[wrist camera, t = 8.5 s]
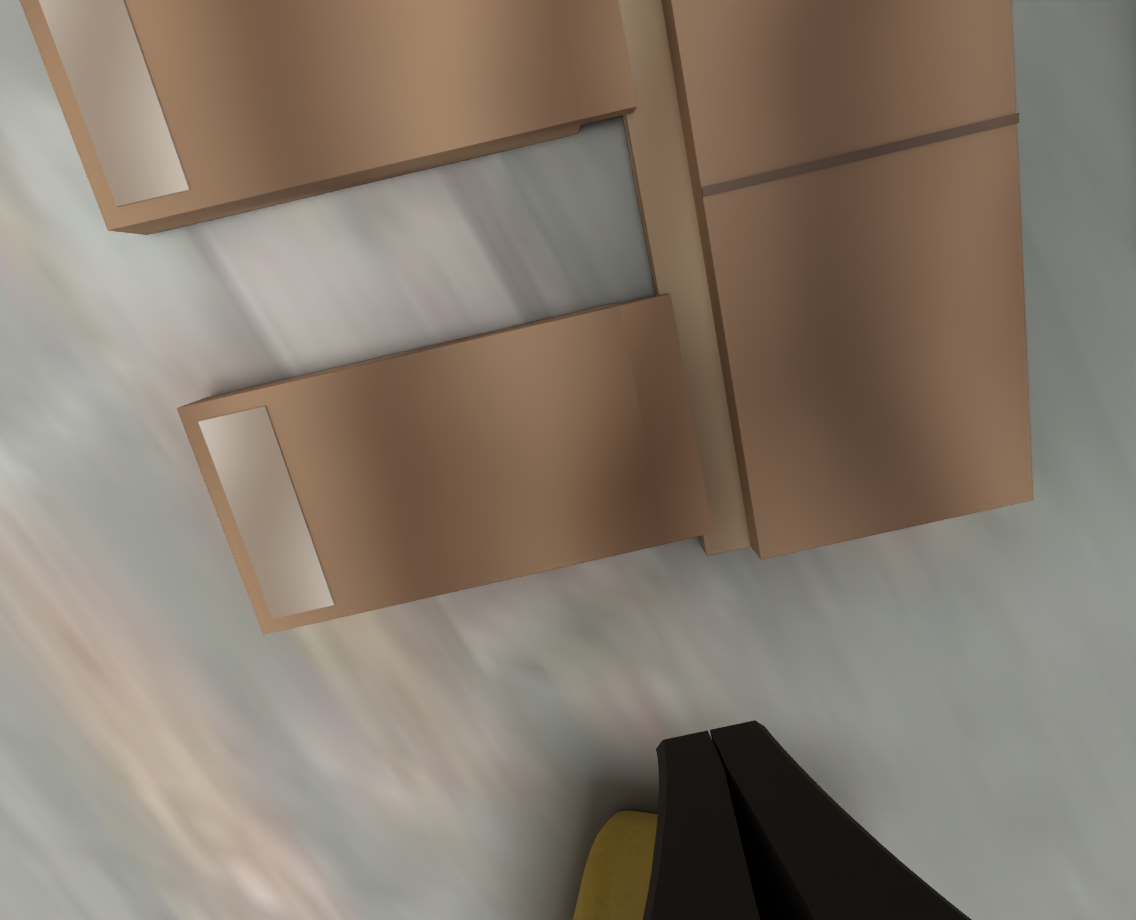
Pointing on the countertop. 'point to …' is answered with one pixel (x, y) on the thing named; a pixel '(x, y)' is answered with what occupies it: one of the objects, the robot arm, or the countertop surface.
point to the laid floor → (837, 257)
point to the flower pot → (618, 869)
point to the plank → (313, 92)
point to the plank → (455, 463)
